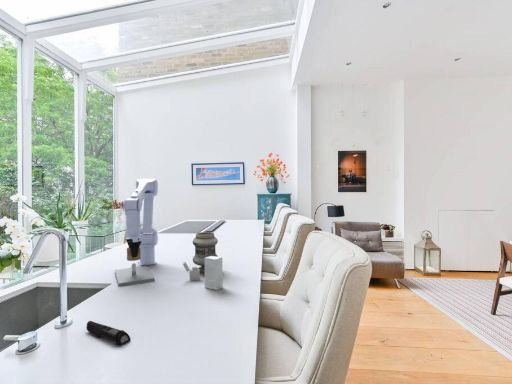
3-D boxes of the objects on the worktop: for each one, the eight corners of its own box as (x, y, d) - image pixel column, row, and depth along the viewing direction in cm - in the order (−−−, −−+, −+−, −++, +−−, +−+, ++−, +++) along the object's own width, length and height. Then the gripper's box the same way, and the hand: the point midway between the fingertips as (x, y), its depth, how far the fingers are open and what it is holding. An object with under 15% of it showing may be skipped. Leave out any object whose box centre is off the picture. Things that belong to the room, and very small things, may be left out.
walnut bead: (126, 258, 134) (126, 247, 134) (139, 257, 136) (139, 246, 136) (127, 261, 129) (127, 249, 129) (141, 259, 132) (140, 248, 131)
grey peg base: (114, 272, 139) (114, 259, 139) (146, 268, 146) (146, 256, 146) (118, 286, 120) (118, 271, 120) (154, 280, 127) (154, 267, 126)
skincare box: (223, 287, 118) (222, 257, 118) (216, 290, 115) (216, 259, 114) (211, 284, 122) (210, 255, 121) (204, 287, 118) (204, 257, 118)
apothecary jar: (187, 272, 139) (187, 233, 139) (203, 266, 150) (203, 230, 149) (208, 275, 133) (208, 235, 133) (223, 269, 144) (223, 232, 144)
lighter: (199, 278, 130) (199, 260, 130) (199, 279, 128) (199, 261, 128) (182, 280, 128) (182, 261, 128) (182, 281, 126) (182, 262, 126)
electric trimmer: (96, 328, 85) (95, 317, 85) (131, 341, 78) (131, 329, 78) (82, 334, 82) (82, 322, 82) (119, 348, 74) (118, 335, 74)
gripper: (145, 226, 128) (145, 258, 128) (140, 223, 141) (140, 251, 141) (127, 227, 124) (127, 260, 125) (124, 223, 137) (124, 253, 137)
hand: (133, 255), depth 133 cm, fingers closed on walnut bead, 5 cm apart
